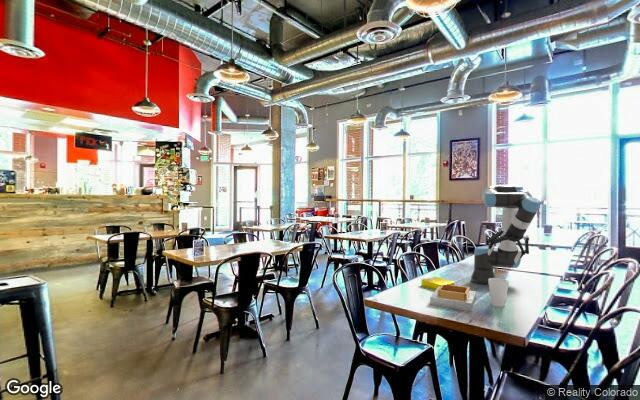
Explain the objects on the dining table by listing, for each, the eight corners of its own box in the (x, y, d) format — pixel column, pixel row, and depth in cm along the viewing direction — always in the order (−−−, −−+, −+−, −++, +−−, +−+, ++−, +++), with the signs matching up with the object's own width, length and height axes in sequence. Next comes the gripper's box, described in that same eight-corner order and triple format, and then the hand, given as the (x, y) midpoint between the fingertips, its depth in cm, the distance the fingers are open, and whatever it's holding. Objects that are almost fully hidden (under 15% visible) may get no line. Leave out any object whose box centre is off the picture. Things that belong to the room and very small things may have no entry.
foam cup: (491, 300, 187) (492, 277, 186) (510, 304, 180) (511, 280, 180) (485, 304, 180) (485, 280, 180) (504, 309, 173) (505, 283, 173)
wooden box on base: (438, 293, 200) (438, 281, 200) (476, 298, 191) (476, 285, 190) (430, 304, 179) (430, 291, 179) (471, 311, 170) (472, 297, 170)
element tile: (439, 292, 204) (439, 284, 204) (420, 286, 216) (420, 278, 216) (455, 288, 212) (455, 280, 212) (435, 283, 224) (436, 275, 224)
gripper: (494, 222, 172) (478, 254, 183) (547, 237, 167) (527, 269, 178) (492, 214, 178) (477, 246, 189) (544, 228, 173) (525, 260, 184)
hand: (501, 257), depth 183 cm, fingers open, 13 cm apart
